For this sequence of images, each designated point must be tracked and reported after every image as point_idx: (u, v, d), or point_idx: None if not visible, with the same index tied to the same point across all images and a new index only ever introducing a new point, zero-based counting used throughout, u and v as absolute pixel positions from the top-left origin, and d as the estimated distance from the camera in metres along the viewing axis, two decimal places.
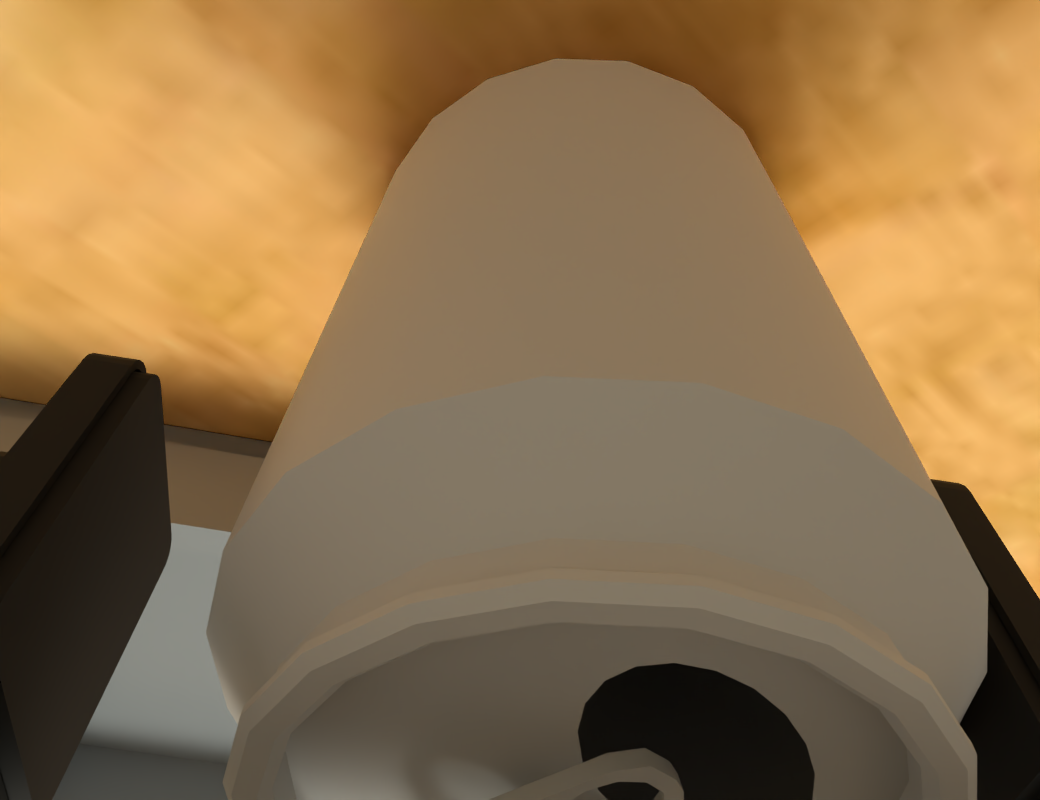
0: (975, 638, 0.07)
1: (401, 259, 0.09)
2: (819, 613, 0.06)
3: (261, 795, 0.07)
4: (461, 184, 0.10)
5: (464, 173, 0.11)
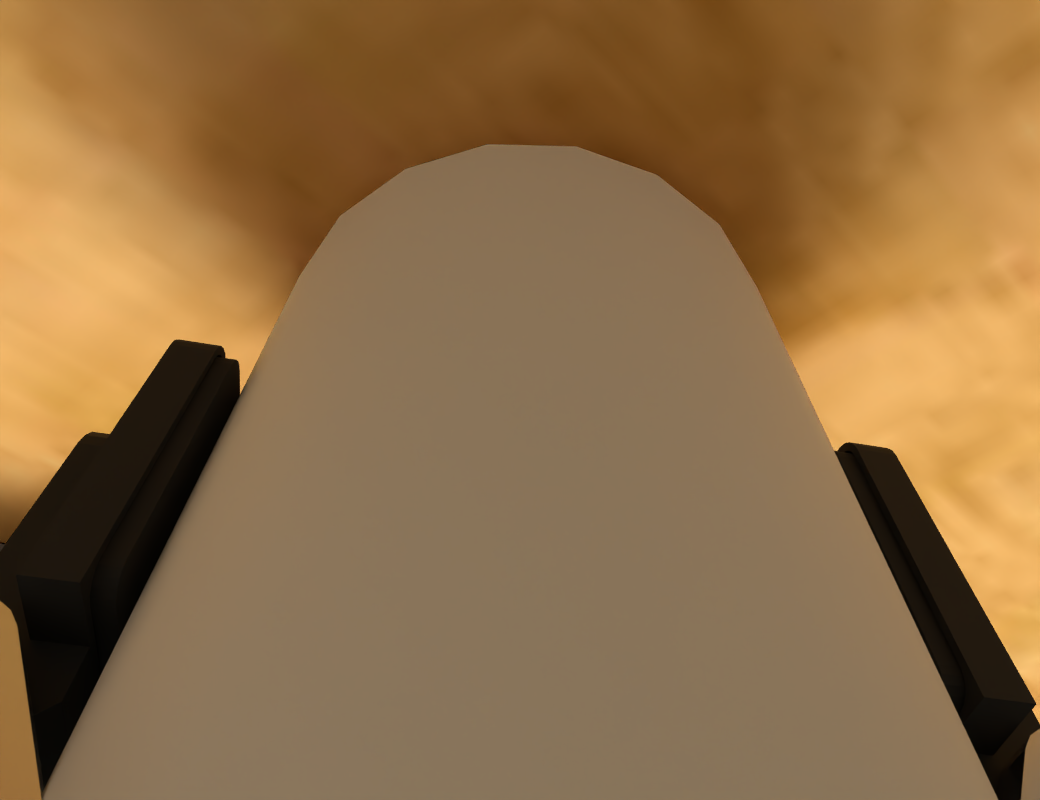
0: None
1: (250, 479, 0.07)
2: None
3: None
4: (346, 351, 0.08)
5: (351, 331, 0.08)
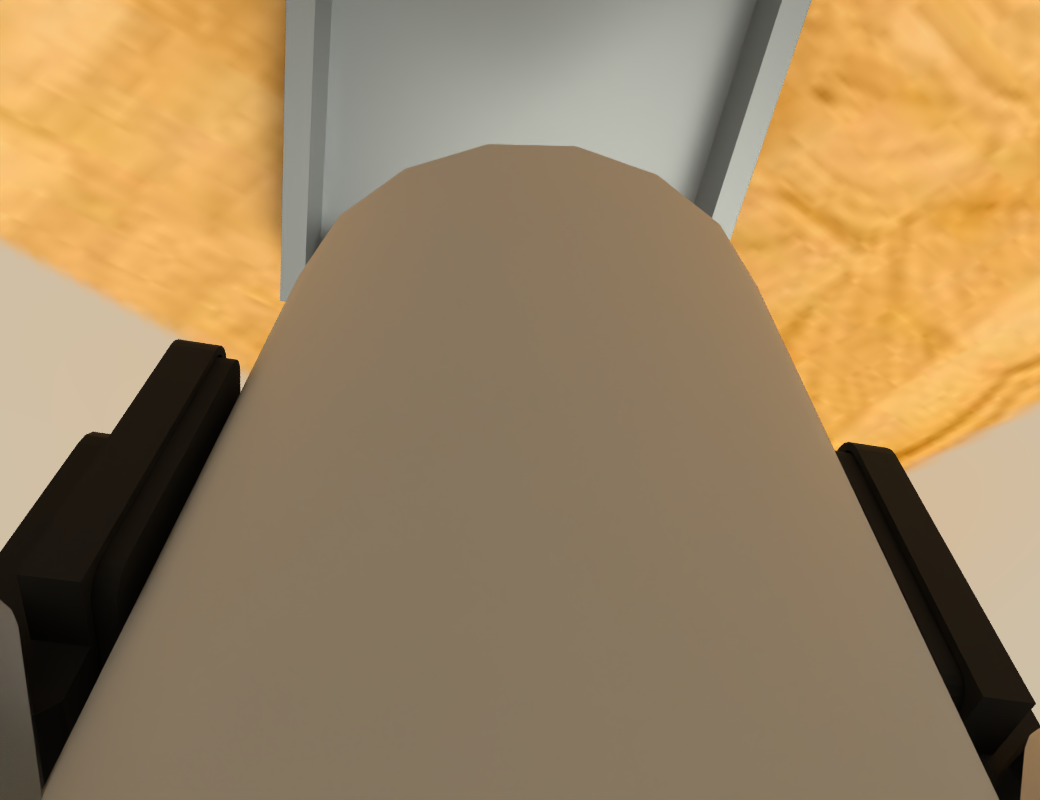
0: None
1: (248, 481, 0.07)
2: None
3: None
4: (344, 353, 0.08)
5: (351, 331, 0.08)
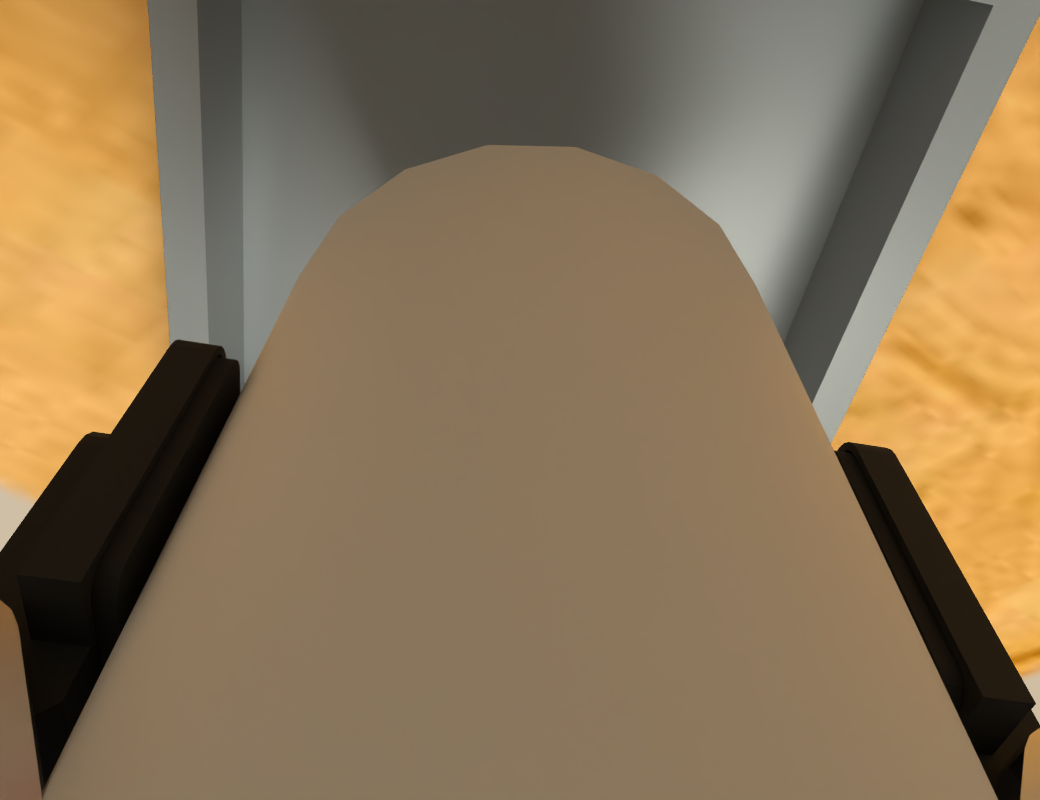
0: None
1: (248, 482, 0.07)
2: None
3: None
4: (344, 354, 0.08)
5: (350, 332, 0.08)
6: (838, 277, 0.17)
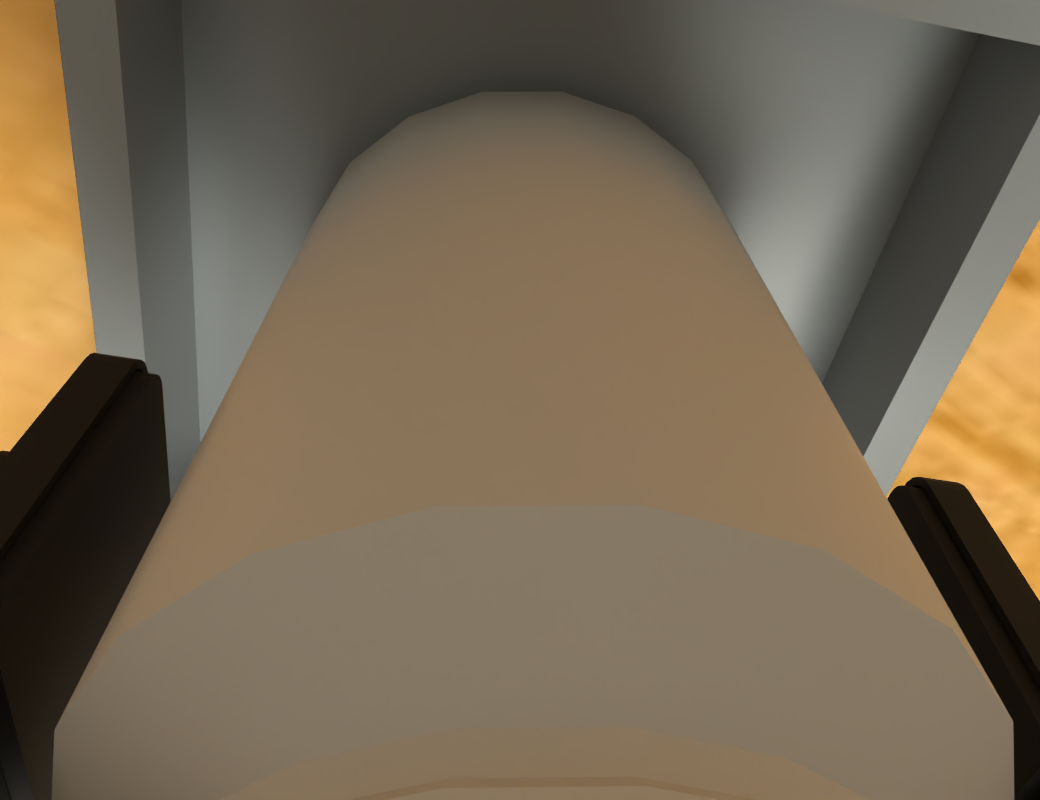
0: (1001, 784, 0.06)
1: (292, 336, 0.08)
2: None
3: None
4: (366, 242, 0.09)
5: (371, 228, 0.09)
6: (873, 351, 0.15)
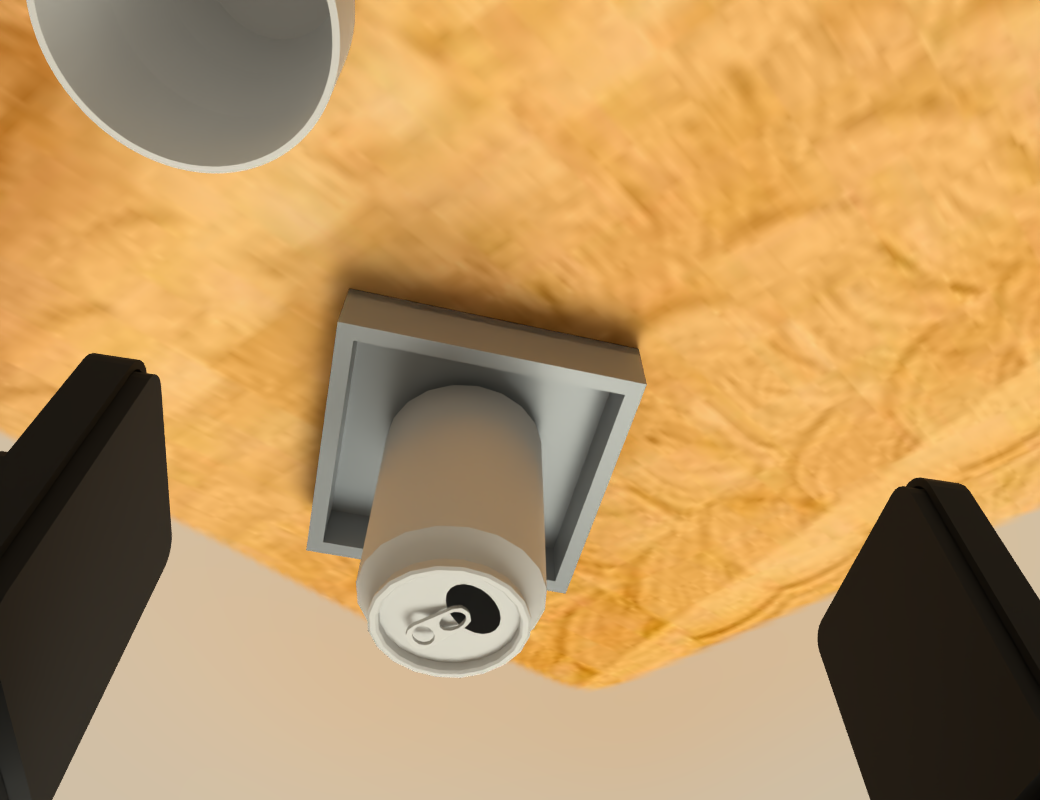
0: (537, 579, 0.33)
1: (402, 481, 0.35)
2: (486, 572, 0.31)
3: (375, 615, 0.32)
4: (419, 454, 0.36)
5: (420, 448, 0.36)
6: (589, 468, 0.42)
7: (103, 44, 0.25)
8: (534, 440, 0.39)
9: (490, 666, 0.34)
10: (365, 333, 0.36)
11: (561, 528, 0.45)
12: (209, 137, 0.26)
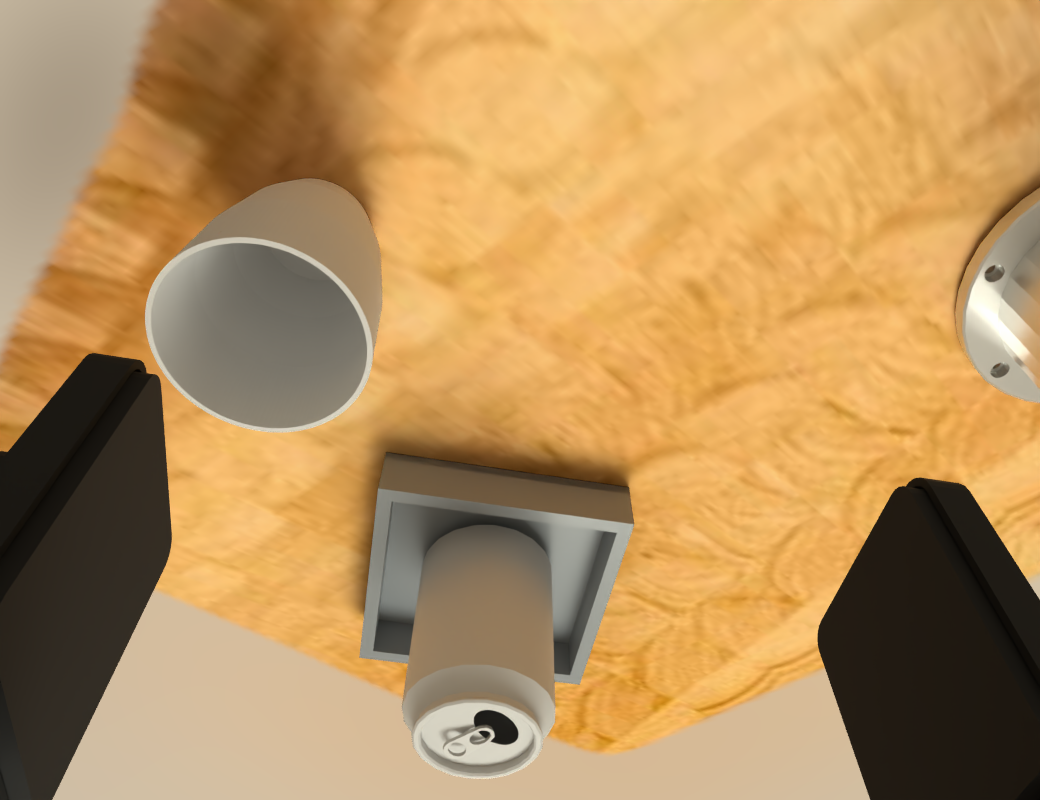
0: (546, 701, 0.41)
1: (435, 620, 0.43)
2: (504, 702, 0.39)
3: (418, 735, 0.40)
4: (448, 594, 0.44)
5: (449, 589, 0.44)
6: (593, 584, 0.49)
7: (196, 335, 0.34)
8: (544, 568, 0.47)
9: (512, 770, 0.42)
10: (400, 496, 0.44)
11: (574, 628, 0.53)
12: (276, 394, 0.35)
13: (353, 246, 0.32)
